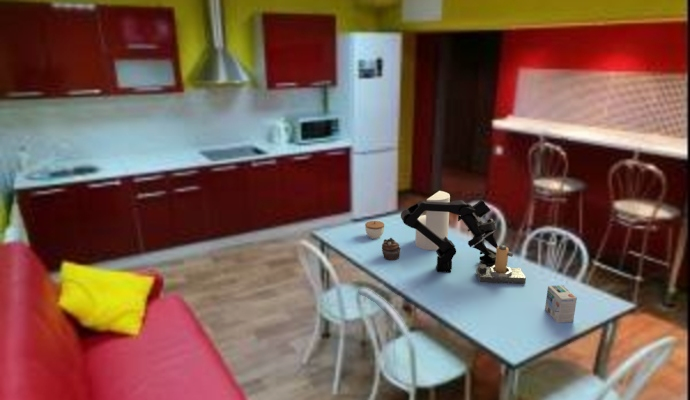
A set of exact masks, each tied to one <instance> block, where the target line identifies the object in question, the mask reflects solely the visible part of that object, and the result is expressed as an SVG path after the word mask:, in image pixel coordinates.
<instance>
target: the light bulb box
mask: <svg viewBox="0 0 690 400" xmlns="http://www.w3.org/2000/svg"><path fill="white" fill-rule="evenodd" d="M545 299H546V300H545V305H544V309H545V311H546V312H547V313H548V314H549V315H550V316H551V318H552V319H553V320H554V321H555V322H556V323H557V324H560V323H574V320H575V319H574V318H575V312H576V305H577V299H578V297H577V296H576V295H574V293H573V292H571V291H570V289H568V288H567V287H566V286H565V285H562V284H561V285H560V284H559V285H548V286H547V292H546V298H545Z"/></svg>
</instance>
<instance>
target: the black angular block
mask: <svg viewBox="0 0 690 400" xmlns="http://www.w3.org/2000/svg"><path fill="white" fill-rule="evenodd" d="M486 248H487V249H488V251H489V253H490V254H489V255H487V254H485V253H483V252H482V251H480V250H479V255H481V256H479V264H485V266H486V267H492V266H494V265H495V261H496V250H495V251H494V250H493V249H491V248H490V247H486Z"/></svg>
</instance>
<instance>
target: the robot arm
mask: <svg viewBox="0 0 690 400" xmlns="http://www.w3.org/2000/svg"><path fill="white" fill-rule="evenodd" d="M426 211H438V212H449V214H454V215H456V216H457V222H460V221H461V220H462V222H463V223H464V225H465V226H466V227H467V231H468V232H470V233H471V234H472V235H473V237H472V238H471V239H469V241H467V245H468V246H469V247H470V248H472V249H473V248H474V249H476V250H478V251H479V252H480V251H482V252H483V253H485V254H487V255H489V254H490V253H489V251H488V249H487V248H488V247H487V246H486V244H485V241H486V242H487V243H489V244H490V245H491V246H493V248H494V249H496V250H497V247H499V246H498V242H497V240H496V237H495V233H496V229H497V228H496V221H495V220H494V219H493V218H492V217H491V218H488V219H487V220H486V221H485V222H482V221H481V220H478V218H479V219H481V218H483V217H484V216H486V215H487V214H488V213H490V212H492V211H491V208H490V207H489V206H488V205H487V204H486V203H485V201H484V200H483V199H480V200H479V201H478V202H477V203H475V204H473V205H471V204H470V203H466V202H465V201H464V200H461V199H459V200H458V199H457V200H452V201H450V202H430V201H427V200H426V201H425V200H419V201H417V202H416V203H415V204H413V205H411V206H409V207H408V208H407V209H403V210H402V211H401V213H400V219H401V220H402V222H403V225H405V226H407V227H409V228H410V229H411V228H412V229H414V230H415V231H416V230H418V231H419V232H420V233H422V234H423V235H424V236H425V237H427V238H428V239H429V240H431V241H432V242H433V243H434V244H436V245H437V246H438V247H439V249H437V250H435V253H436V254H437V256H436V266H435V267H436V272H437V273H451V272H452V269H453V261H452V260H453V258H454V256H455V255H456V254H457V249H456V245H455V244H454V243H453V241H452V240H450V239H449V238H448V239H447V238H446V237H445V238H444V239H443V238H440V237H439V236H438V235H437V234H435V233H434V232H433V231H431V230H430V229H429V228H428V227H426V226H425V225H424V224H423V223H421V222H420V221H419V220H418V218H419V217H420V216H422V215H423V213H424V212H426Z"/></svg>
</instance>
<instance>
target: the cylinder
mask: <svg viewBox="0 0 690 400" xmlns="http://www.w3.org/2000/svg"><path fill="white" fill-rule="evenodd" d="M450 195H451V194H450V193H448V192H446V191H443V190H438V191H437V192H435V193H434V194H433V195H431V196H430V197H428V198H426V201H430V202H451V201H450V200H451V196H450ZM425 212H426V214H424V215H423V214H421V215H420V217H419V218H418V220H419V221H420V222H421V223H423V224H424V225H425V226H426V227H428V228H429V229H430V230H431V231H433V232H434V233H435V234H437V235H438V236H439V237H440V238H443V239H444V238H445V237H446V238H447V239H448V240H449V237H448V236H449V220H450V212H438V211H425ZM414 241H415V242H414V243H415V245H416V247H417V248H419V249H422V250H426V251H436V250H437V249H439V247H438V246H437V245H436V244H434V243H433V242H432V241H431V240H429V239H428V238H427V237H425V236H424V235H423V234H422V233H420V232H419V231H418V230H416V229H415V240H414Z"/></svg>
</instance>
